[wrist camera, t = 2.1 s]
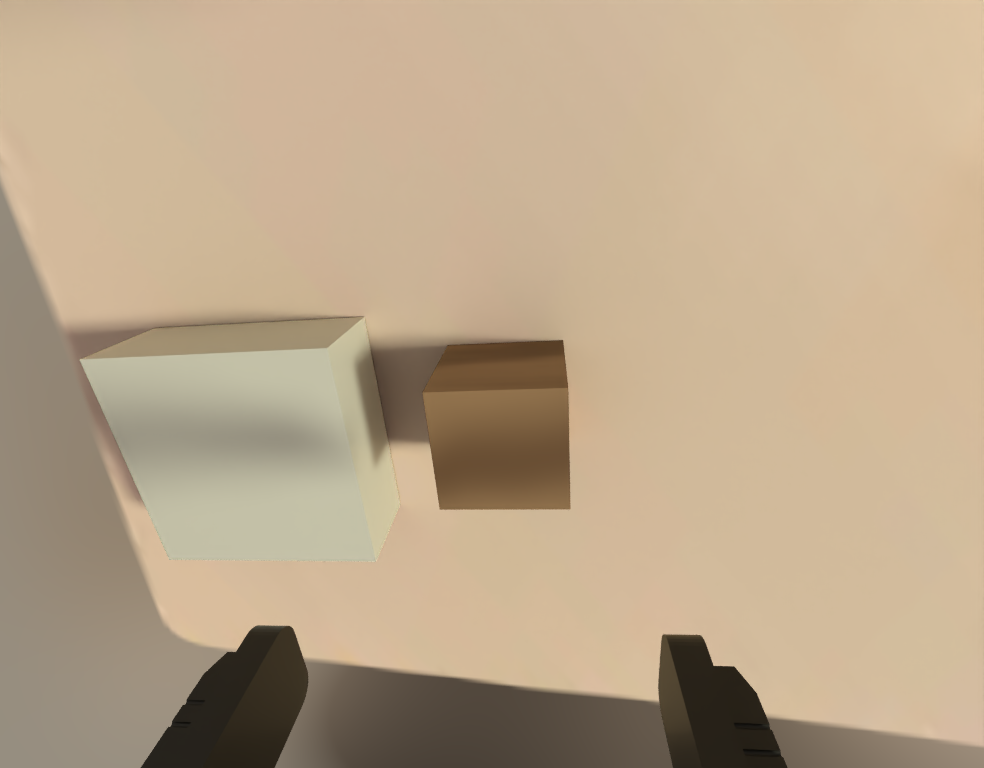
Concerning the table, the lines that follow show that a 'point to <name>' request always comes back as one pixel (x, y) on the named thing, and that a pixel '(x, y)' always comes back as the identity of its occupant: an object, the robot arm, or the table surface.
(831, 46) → the table surface
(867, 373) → the table surface
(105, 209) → the table surface
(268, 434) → the base slab
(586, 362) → the table surface
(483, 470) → the walnut cube
